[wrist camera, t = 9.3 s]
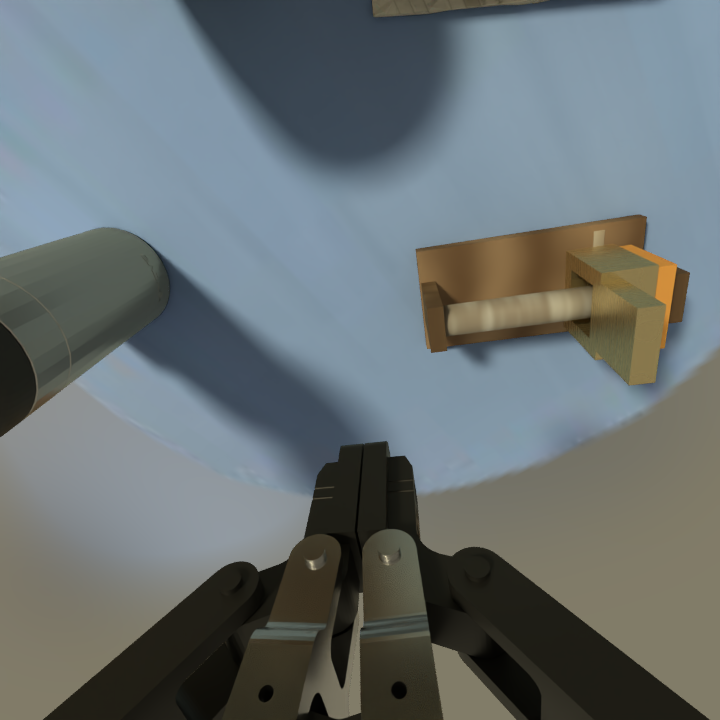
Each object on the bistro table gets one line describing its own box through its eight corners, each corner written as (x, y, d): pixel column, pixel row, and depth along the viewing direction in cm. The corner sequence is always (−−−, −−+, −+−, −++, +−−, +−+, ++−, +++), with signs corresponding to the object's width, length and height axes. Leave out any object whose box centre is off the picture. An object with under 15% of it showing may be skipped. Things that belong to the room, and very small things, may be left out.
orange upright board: (608, 319, 36) (646, 350, 31) (614, 247, 34) (657, 267, 28) (623, 317, 36) (664, 348, 31) (631, 244, 34) (677, 264, 28)
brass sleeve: (563, 326, 37) (627, 395, 27) (566, 250, 34) (639, 296, 24) (607, 320, 37) (688, 388, 27) (613, 243, 34) (707, 287, 24)
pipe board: (426, 343, 42) (433, 383, 35) (415, 249, 38) (421, 273, 31) (628, 318, 39) (677, 355, 32) (639, 214, 35) (698, 232, 29)
